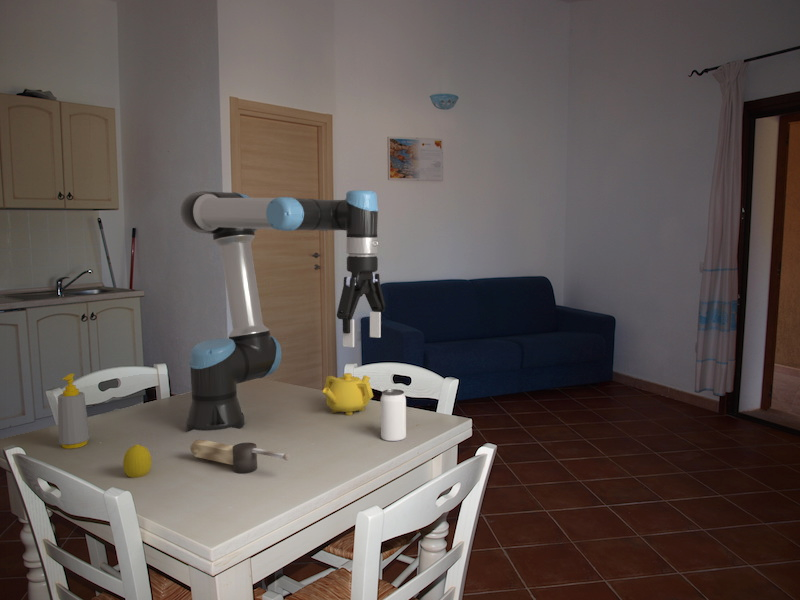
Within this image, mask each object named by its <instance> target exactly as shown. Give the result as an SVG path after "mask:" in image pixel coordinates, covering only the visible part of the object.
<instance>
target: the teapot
mask: <svg viewBox="0 0 800 600" xmlns="http://www.w3.org/2000/svg"><path fill="white" fill-rule="evenodd" d="M370 379H371V377H370V376H368V375H363V376H362V378H360V377H358V376H353V374H352V373H351V372H350V373H349V372H344V373H343V374H342V376H339V377H336V376H333V375H328V376H326V379H325V383H324V388H323V389H322V393H323V394H324V396H325V397H326V401H325V402H326V404H327V406H328V407H329V408H330V409H331V413H333V414H334V413H340V412H343V413H344V412H345V416H347V417H351V416H353V415H354V412H357V411H358V412H363V411H365V410H366V409H365V408H366V407H367V406H368V404H369V402H370V401H371V399H372V398H373V397H374V393H373V390H372V385H371V383H370Z"/></svg>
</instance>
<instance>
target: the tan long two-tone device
mask: <svg viewBox="0 0 800 600" xmlns="http://www.w3.org/2000/svg"><path fill="white" fill-rule="evenodd" d="M190 452H191V454H193V455H194V457H196V458H200V459H205V460H210V461H214V462H218V463H221V464H227V465H232V466H233V469H232V470H233V472H234V473H236V474H249V473H253V472H255V471H257V469H258V455H263V456H267V457H272V458H278V459H282V460H285V461H289V460H290V458H291V455H290V453H282V452H278V451H273V450H272V451H271V450H269V449H262V448H257V444H256V443H254V442H241V443H237V444H234V445H233V444H232V445H231V444H227V443H226V444H225V443H221V442H215V441H212V440H206V439H196V440H194V441H193V442H192V443H191V445H190Z"/></svg>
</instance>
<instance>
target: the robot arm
mask: <svg viewBox="0 0 800 600" xmlns="http://www.w3.org/2000/svg"><path fill="white" fill-rule="evenodd" d="M345 194H346V195H345V199H318V198H316V199H315V198H301V197H292V196H281V197H279V196H278V197H251V196H249V195H247V194H244V193H239V192H236V191H235V192H227V191H226V192H225V191H224V192H223V191H222V192H221V191H209V190H208V191H205V190H201V191H195V192H192V193H191V194H189V195H187V196H186V197H185V198H184V199H183V201H182V203H181V205H180V210H179V211H180V213H179V214H180V217H181V219H182V222H183V223H184V225H185V226H186V227H187V228H188V229H189V230H191V231H193V232H196V233H199V234H211V235H212V239H213V243H214V244H215V245H217V246H219V248H220V254H221V261H222V268H223V273H224V280H225V286H226V294H227V299H228V306H229V313H230V318H231V324H232V325H231V326H232V330H231V332H230V333H229V335H228V338H227V337H225V338H224V337H223V338H220V337H219V338H215V339H208V340H204V341H201V342H199V343H197V344H195V345H194V346H193V347H191V350H190V352H189V366H190V385H191V404H190V407H189V411H188V412H189V413H188V417H187V419H186V422H185V423H186V425H185V427H186V431H187V432H188V433H189V432H191V431H193V430H195V431H201V432H202V431H206V432H207V431H209V432H211V431H218V430H219V431H221V430H225V429H230V428H231V429H232V428H233V429H241V428H242V427H244V425H245V414H244V412H242V407H241V404H240V401H239V399H238V394H237V393H238V392H237V385H238V384H241V383H245V382H249V381H253V380H256V379H263V378H265V377H267V376H270V375H272V374H274V373H275V372H276V371H277V369H278V368H279V366H280V364H281V361H282V354H283V353H282V347H281V345H280V342H279V341H278V339H277V338H276V337H275V336H273V335H271V332H270V328H268V327H267V326H265V325H264V321H263V320H264V319H263V314H262V309H261V301H260V295H259V289H258V283H257V277H256V271H255V263H254V257H253V250H252V242H253V240H254V239H255V238H256V235H255V234H256V233H255V232H257V230H277V231H282V232H291V231H292V232H293V231H319V232H320V231H321V232H327V231H343V232H344V231H345V232H346V255H347V254H348V255H347V257H346V271H347V272H349V273H351V276H344V277H343V287H342V290H341V295H340V300H339V304H338V308H337V312H336V317H337V318H338V320H342V346H343V347H345V348H346V347H347V348H355V319H354V318H353V316H354V314H355V311H356V309H357V306H358V304H359V301H360V298H361V297H363V295H364V296H365V297H366V300H367V303H368V304H369V305H368V306H369V307H370V309H371V311H369V338H377V339H378V338H381V337H382V336H381V333H382V332H381V327H382V326H381V325H382V321H381V319H382V318H381V317H382V314H381V313H382V312H383V313H384V312H385V310H386V304H385V303H386V302H385V299H384V294H383V291H382V290H383V289H382V287H381V281H380V279H381V278H380V274H379V273H376V272H377V271H378V267H379V266H378V263H379V262H378V260H379V258H378V256H376V255H377V254H378V246H379V242H378V221H379V220H378V218H379V207H378V195H377V193H376V192H375V191H373V190H363V189H361V190H360V189H359V190H357V189H355V190H348V191H347V192H346V193H345Z"/></svg>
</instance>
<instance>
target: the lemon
mask: <svg viewBox="0 0 800 600" xmlns="http://www.w3.org/2000/svg"><path fill="white" fill-rule="evenodd" d="M152 460H153V459H152V455H151V453H150V451H149V449H148V448H147V447H146V446H144V445H139V444H138V443H136V444H134V445H133V446H131V447H129V448H128V449H127V450H126V452H125V454H124V457H123V460H122V462H123V463H122V465H123V466H122V467H123V471H124V473H125V475H126V476H127V477H128V478H132V479H133V478H134V479H135V478H142V477H145V476H146V475H147V474H149V472H150V471H151V468H152V462H153V461H152Z"/></svg>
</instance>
